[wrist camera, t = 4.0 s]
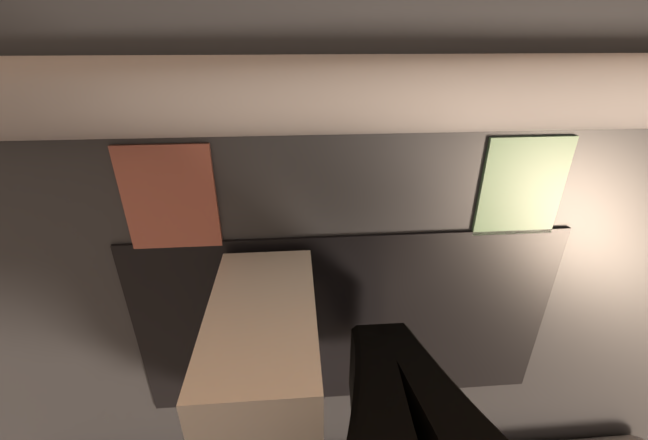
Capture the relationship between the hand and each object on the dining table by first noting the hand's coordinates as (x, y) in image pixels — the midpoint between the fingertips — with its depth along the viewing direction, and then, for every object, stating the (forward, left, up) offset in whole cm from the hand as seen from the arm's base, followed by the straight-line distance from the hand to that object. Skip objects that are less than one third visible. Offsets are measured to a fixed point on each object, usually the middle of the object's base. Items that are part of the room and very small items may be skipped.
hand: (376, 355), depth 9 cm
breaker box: (0, +1, -4) cm, 4 cm away
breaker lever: (0, +2, -1) cm, 3 cm away
